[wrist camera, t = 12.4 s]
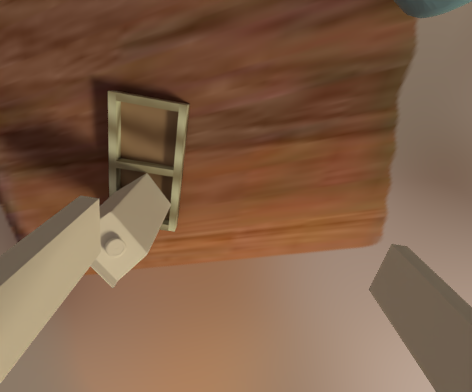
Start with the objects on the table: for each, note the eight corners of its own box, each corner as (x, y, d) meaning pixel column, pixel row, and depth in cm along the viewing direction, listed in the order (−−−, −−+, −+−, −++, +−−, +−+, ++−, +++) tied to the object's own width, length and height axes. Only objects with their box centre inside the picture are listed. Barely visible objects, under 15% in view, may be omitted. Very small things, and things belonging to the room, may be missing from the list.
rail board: (116, 90, 42) (107, 90, 39) (189, 103, 43) (187, 105, 41) (116, 214, 51) (109, 222, 48) (177, 223, 52) (174, 231, 49)
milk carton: (140, 222, 48) (90, 299, 31) (114, 191, 46) (44, 257, 28) (171, 204, 47) (137, 275, 30) (147, 172, 45) (94, 228, 27)
